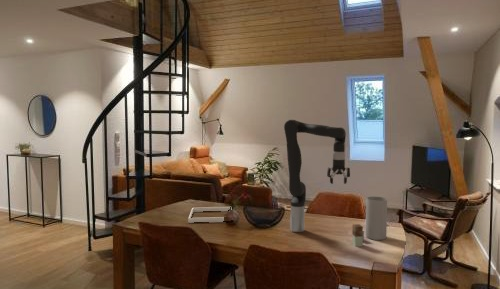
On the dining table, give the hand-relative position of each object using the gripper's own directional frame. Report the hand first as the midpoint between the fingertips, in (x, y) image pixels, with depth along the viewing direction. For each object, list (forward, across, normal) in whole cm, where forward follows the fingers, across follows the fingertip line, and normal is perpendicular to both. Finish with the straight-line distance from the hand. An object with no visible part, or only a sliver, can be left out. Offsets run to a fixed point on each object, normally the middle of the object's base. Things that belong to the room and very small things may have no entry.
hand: (338, 183), depth 229 cm
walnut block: (+28, +6, -19) cm, 34 cm away
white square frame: (+35, -84, +52) cm, 105 cm away
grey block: (+34, +10, -10) cm, 37 cm away
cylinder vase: (+34, +23, -6) cm, 42 cm away
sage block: (+34, +6, -19) cm, 39 cm away
